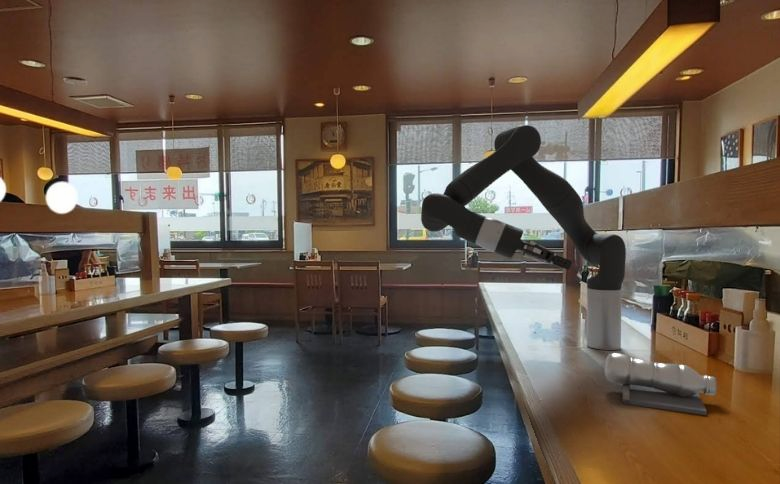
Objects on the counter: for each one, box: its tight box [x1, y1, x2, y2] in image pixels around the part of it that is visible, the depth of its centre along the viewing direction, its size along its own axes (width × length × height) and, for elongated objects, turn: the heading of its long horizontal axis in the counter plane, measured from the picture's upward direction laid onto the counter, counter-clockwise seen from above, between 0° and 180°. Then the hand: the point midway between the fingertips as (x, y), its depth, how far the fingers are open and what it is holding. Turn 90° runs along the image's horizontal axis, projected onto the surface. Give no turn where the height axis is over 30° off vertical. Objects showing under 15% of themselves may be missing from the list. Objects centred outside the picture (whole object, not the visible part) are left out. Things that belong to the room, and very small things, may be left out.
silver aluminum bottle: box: [603, 352, 718, 397], centre depth 97 cm, size 6×7×20 cm
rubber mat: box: [622, 384, 708, 416], centre depth 96 cm, size 15×14×2 cm
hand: (570, 265), depth 107 cm, fingers closed
